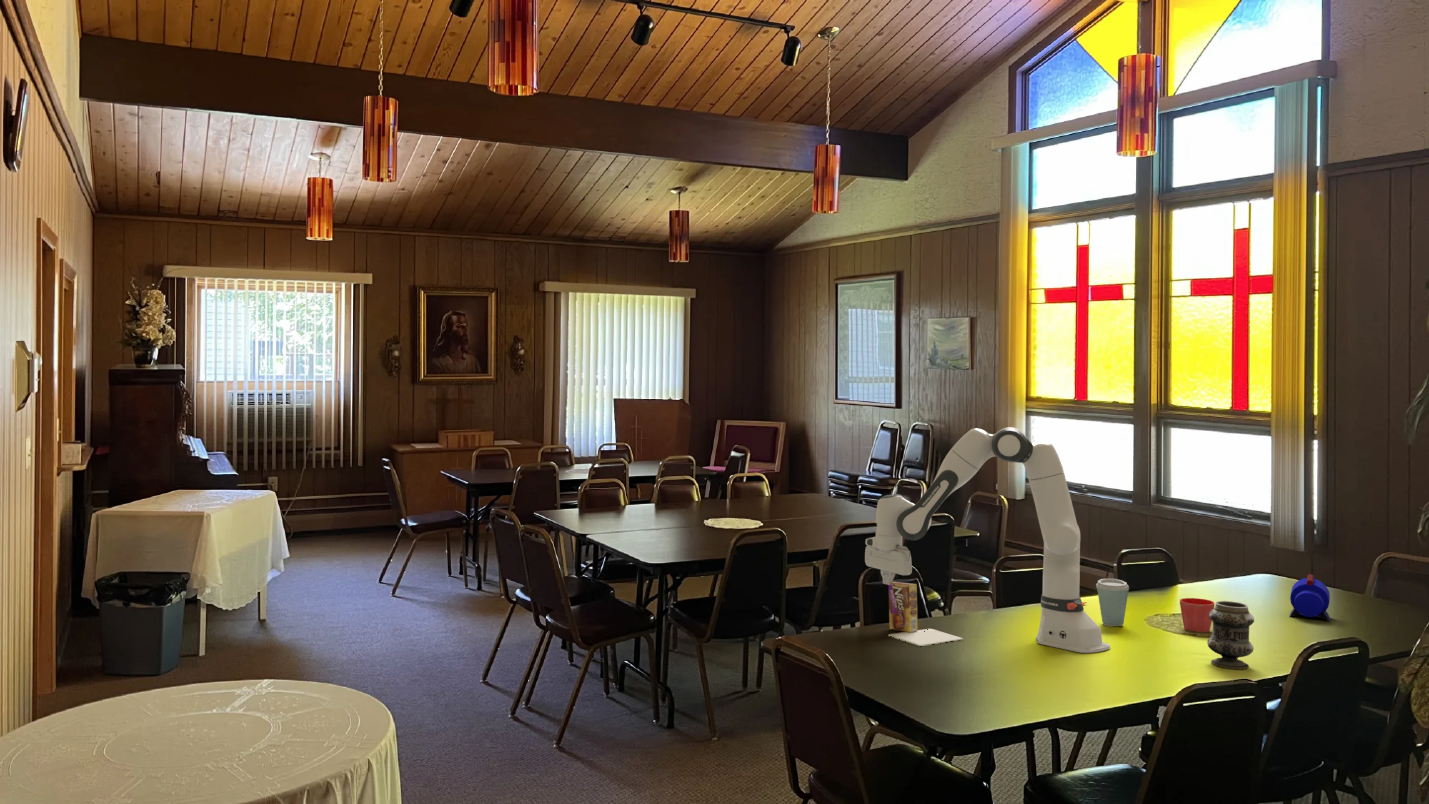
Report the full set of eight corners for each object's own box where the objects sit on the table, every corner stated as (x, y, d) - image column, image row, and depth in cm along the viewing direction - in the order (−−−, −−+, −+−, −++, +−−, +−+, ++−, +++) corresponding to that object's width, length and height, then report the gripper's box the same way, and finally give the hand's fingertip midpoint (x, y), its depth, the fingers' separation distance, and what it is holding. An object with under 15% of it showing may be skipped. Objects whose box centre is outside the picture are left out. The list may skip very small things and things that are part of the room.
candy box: (918, 631, 328) (917, 583, 329) (910, 632, 326) (908, 585, 326) (897, 627, 335) (896, 581, 336) (888, 629, 333) (887, 582, 333)
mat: (963, 640, 320) (963, 638, 320) (920, 646, 310) (920, 645, 310) (930, 630, 333) (930, 628, 333) (888, 636, 323) (888, 634, 323)
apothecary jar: (1251, 673, 286) (1252, 609, 286) (1204, 666, 293) (1205, 604, 293) (1254, 663, 297) (1256, 602, 297) (1209, 657, 303) (1210, 597, 303)
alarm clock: (1329, 616, 363) (1330, 575, 362) (1329, 623, 352) (1330, 580, 352) (1290, 612, 369) (1291, 571, 369) (1288, 618, 359) (1289, 576, 359)
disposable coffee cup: (1133, 629, 338) (1134, 584, 338) (1101, 628, 339) (1102, 583, 339) (1121, 621, 349) (1122, 578, 349) (1090, 621, 349) (1091, 577, 349)
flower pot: (1180, 631, 336) (1180, 602, 335) (1178, 624, 346) (1178, 596, 346) (1215, 635, 332) (1216, 605, 331) (1212, 627, 342) (1213, 599, 342)
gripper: (917, 547, 330) (915, 589, 330) (876, 538, 347) (875, 578, 348) (902, 548, 327) (901, 590, 327) (862, 539, 344) (861, 579, 344)
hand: (887, 584), depth 337 cm, fingers closed
